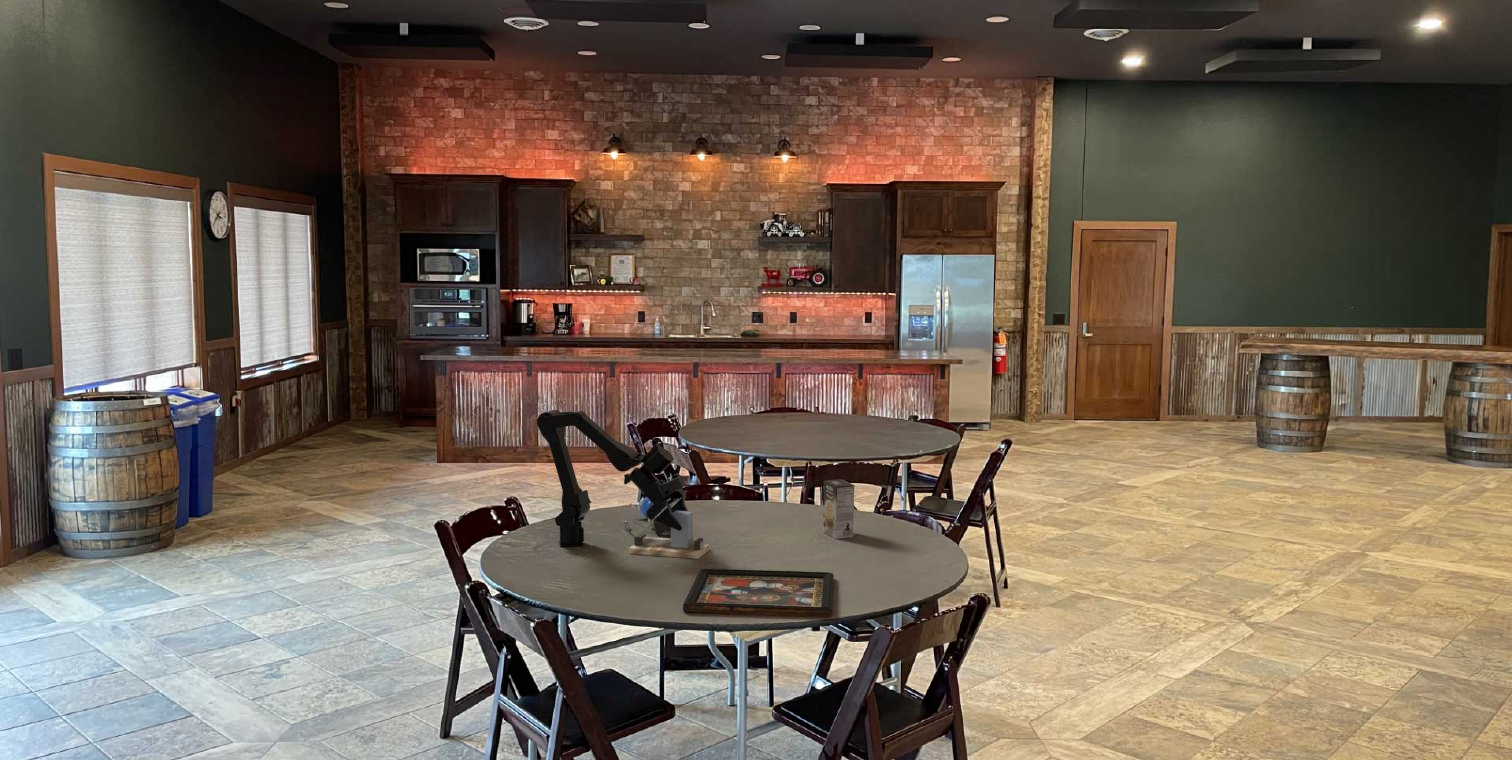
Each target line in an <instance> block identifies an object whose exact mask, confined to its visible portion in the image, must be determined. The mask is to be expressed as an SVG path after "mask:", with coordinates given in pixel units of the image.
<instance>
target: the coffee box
mask: <svg viewBox="0 0 1512 760" xmlns="http://www.w3.org/2000/svg"><path fill="white" fill-rule="evenodd" d="M822 509H823V513H822V515H823V517H822V519H823V521H822V522H823V523H822V524H823V527H822V528H823V529H822V532H823V533H825V534H826V535H828V536H830V537H831V538H833V539H835V540H839V539H848V538H854V524H855V523H854V521H855V520H854V517H855V514H854V513H855V484H852V483H851V482H849V481H846V480H845V479H843V478H840V479H829V480H823V508H822Z"/></svg>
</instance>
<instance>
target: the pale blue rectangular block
mask: <svg viewBox="0 0 1512 760" xmlns="http://www.w3.org/2000/svg"><path fill="white" fill-rule="evenodd" d="M672 514H673V515H674V517H675V518H676V519H677V521H678V522H679V524H680V525H681V527H682V530H680V531H678V530H676V529H674V528H671V531H670V538H671V547H678V548H689V540H694V511H689V510H688V511H675V512H673V513H672Z"/></svg>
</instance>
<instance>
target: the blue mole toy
mask: <svg viewBox="0 0 1512 760" xmlns="http://www.w3.org/2000/svg"><path fill="white" fill-rule="evenodd" d="M652 505H653V504H652V503H651V502H650V501H649V500H648V498H647V497H646V498H645V499H644V498H643V497H642V496H641V499H640V501H638V502H634V503H629V504H628V506H629V507H631V508H634V509H635V510H637V511H638V513H640V514H642V515H643V516H644V517H645V518H648V517H647V516H646V511H647V510H648V509H649V508H650V507H651V506H652ZM648 519H649V518H648Z"/></svg>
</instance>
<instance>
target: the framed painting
mask: <svg viewBox="0 0 1512 760" xmlns="http://www.w3.org/2000/svg"><path fill="white" fill-rule="evenodd" d="M834 581H835V580H834V573H832V572H827V571H826V572H825V571H801V570H798V571H797V570H770V569H769V570H762V569H757V570H756V569H733V568H732V569H729V568H700V569H699V571H698V573H697V575H696V578H695V579H694V581H693V584H692V585H691V587H690V590H689V592H688V594H687V595H686V598H685V600H684V601H683V604H682V611H683V612H685V613H702V612H712V613H711V614H727V613H737V614H736V615H749V614H760V615H759V616H780V617H781V616H786V617H789V616H790V617H806V616H819V617H818V618H831V617H832V616H833V615H832V614H833V608H834V583H835V582H834ZM713 612H715V613H713Z"/></svg>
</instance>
